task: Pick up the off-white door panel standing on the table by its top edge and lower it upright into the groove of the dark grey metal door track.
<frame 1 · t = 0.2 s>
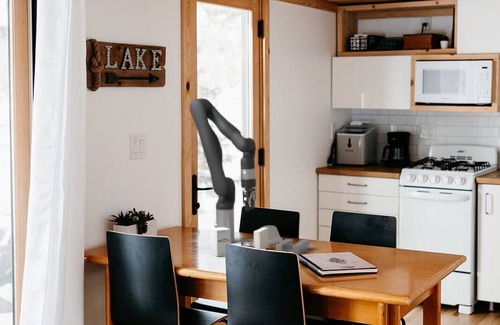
hand: (250, 209, 402), 17 cm above the table, tool pointing down, fingers open, 8 cm apart
door track: (292, 250, 384), on the table
hinge: (268, 243, 405), on the table
door panel: (261, 250, 387), on the table
supplement box: (220, 255, 377), on the table
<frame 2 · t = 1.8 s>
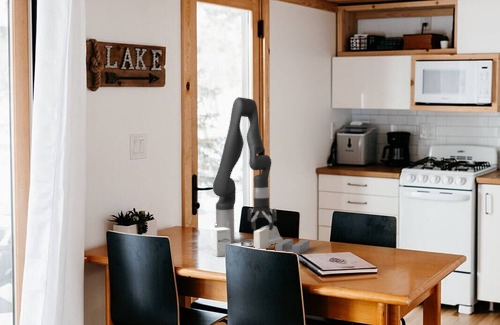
hand: (262, 229, 387), 10 cm above the table, tool pointing down, fingers open, 8 cm apart
nothing on the table moved.
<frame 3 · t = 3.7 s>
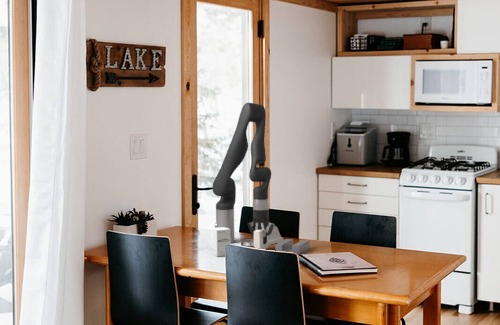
hand: (261, 243, 387), 3 cm above the table, tool pointing down, fingers closed on door panel, 3 cm apart
door panel: (261, 249, 387), on the table, touching gripper
everything else where it was.
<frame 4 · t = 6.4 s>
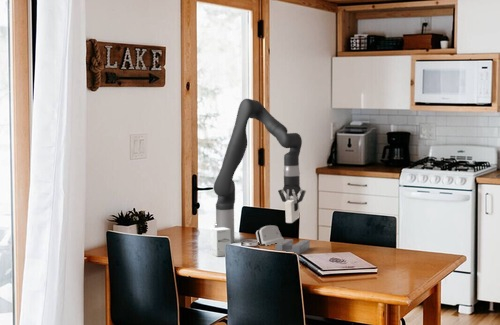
hand: (292, 210, 383), 19 cm above the table, tool pointing down, fingers closed on door panel, 3 cm apart
door panel: (292, 219, 384), point 15 cm above the table, touching gripper
everything else where it was.
when the fingers open (6 cm above the table, at t = 9.2 s): door panel stays where it is, resting on door track.
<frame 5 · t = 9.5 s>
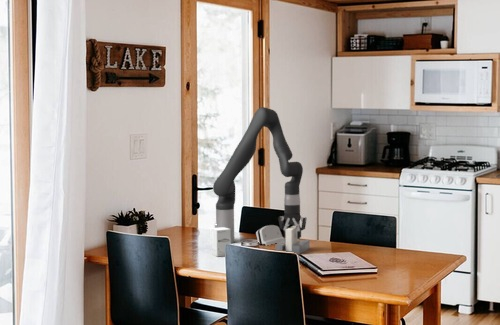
hand: (292, 238, 384), 6 cm above the table, tool pointing down, fingers open, 5 cm apart
door panel: (292, 248, 385), point 1 cm above the table, touching door track
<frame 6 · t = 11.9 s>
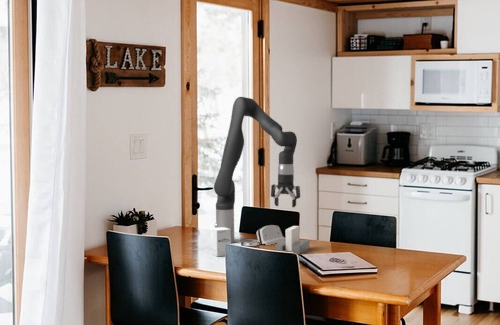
hand: (285, 206, 386), 21 cm above the table, tool pointing down, fingers open, 8 cm apart
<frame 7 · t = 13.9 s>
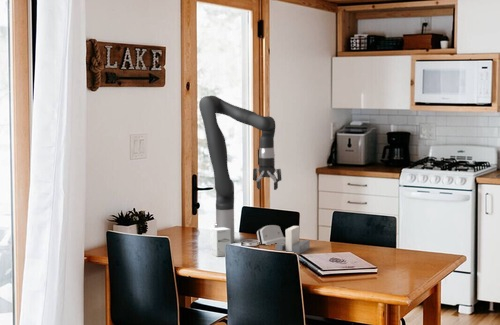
hand: (267, 189, 396), 28 cm above the table, tool pointing down, fingers open, 8 cm apart
at the end: door panel inside the target area on the door track (0.2 cm from its centre), point 1.0 cm above the door track's base; door panel tilted 0°; the gripper is holding nothing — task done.
